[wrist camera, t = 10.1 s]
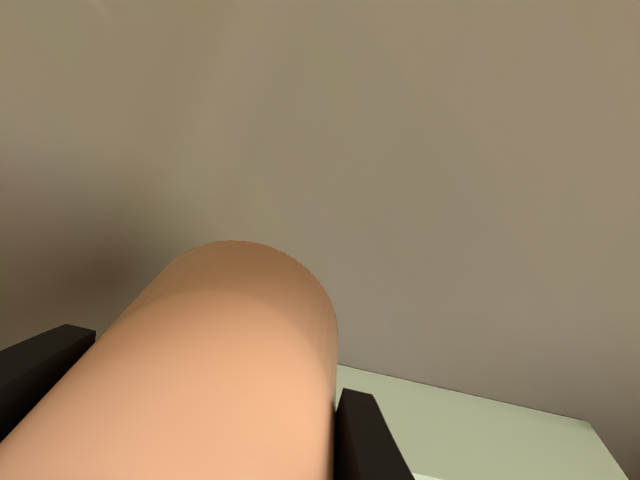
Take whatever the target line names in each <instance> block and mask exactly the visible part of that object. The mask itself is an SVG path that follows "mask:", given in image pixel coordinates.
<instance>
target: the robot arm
mask: <svg viewBox="0 0 640 480" xmlns="http://www.w3.org/2000/svg"><path fill="white" fill-rule="evenodd" d="M95 336H96V331H94V330H90V329H86V328H81V327H77V326H73V325H68V324H65V325H62V326H59V327H56V328H54V329H51V330H49V331H46V332H44V333H41V334H39V335H37V336H34V337H32V338H30V339H27V340H25V341H23V342H20V343H18V344H16V345H13V346H11V347H9V348H6V349H4V350H1V351H0V443H1V442H2V441H3V440H4V439H5V438H6V437H7V436H8V434H9V433H10V432H11V431H12V430H13V429H14V428H15V427H16V426H17V425H18V424H19V423H20V422H21V421H22V420H23V418H24V417H25V416H26V415H27V414H28V413H29V412H30V411H31V410H32V409H33V408H34V407H35V406H36V405H37V404H38V402H39V401H40V400H41V399H42V398H43V397H44V396H45V395H46V394H47V393H48V392H49V391H50V390H51V389H52V388H53V386H54V385H55V384H56V383H57V382H58V381H59V380H60V379H61V378H62V377H63V376H64V375H65V374H66V373H67V372H68V370H69V369H70V368H71V367H72V366H73V365H74V364H75V363H76V362H77V361H78V360H79V359H80V358H81V357H82V356H83V354H84V353H85V352H86V351H87V350H88V349H89V348H90V347H91V346H92V345H93V344H94V343H95ZM334 480H415V478H414V476H413V475H412V473H411V471H410V469H409V467H408V465H407V464H406V462H405V460H404V458H403V456H402V454H401V452H400V450H399V448H398V446H397V444H396V442H395V440H394V438H393V436H392V434H391V432H390V430H389V428H388V425H387V423H386V421H385V419H384V417H383V415H382V412H381V410H380V408H379V406H378V404H377V401H376V400H375V398H374V396H373V395H372V394H369V393H364V392H360V391H356V390H351V389H347V388H343V390H342V393H341V396H340V400H339V403H338V407H337V410H336V416H335V449H334Z"/></svg>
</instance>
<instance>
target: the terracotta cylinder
mask: <svg viewBox="0 0 640 480" xmlns="http://www.w3.org/2000/svg"><path fill="white" fill-rule="evenodd" d="M337 350H338V326H337V319H336V315H335V311H334V308H333V305H332V303H331V300H330V298H329V296H328V295H327V293H326V291H325V289H324V288H323V286H322V285H321V284H320V282H319V281H318V280H317V278H316V277H315V276H314V275H313V274H312V273H311V272H310V271H309V270H308V269H307V268H306V267H304V266H303V265H302V264H301V263H299V262H298V261H297V260H295V259H294V258H292V257H290V256H288V255H287V254H285V253H283V252H281V251H279V250H276V249H274V248H272V247H269V246H265V245H262V244H259V243H253V242H247V241H233V240H230V241H217V242H213V243H208V244H204V245H201V246H198V247H195V248H193V249H191V250H189V251H187V252H185V253H183V254H181V255H180V256H178V257H177V258H176V259H174V260H173V261H171V262H170V263H169V264H168V265H167V266H166V267H165V268H164V269H163V270H162V271H161V272H160V273H159V274H158V276H157V277H156V278H155V279H154V280H153V281H152V282H151V283H150V284H149V285H148V286H147V287H146V288H145V289H144V290H143V292H142V293H141V294H140V295H139V296H138V297H137V298H136V299H135V300H134V301H133V302H132V303H131V304H130V305H129V306H128V308H127V309H126V310H125V311H124V312H123V313H122V314H121V315H120V316H119V317H118V318H117V319H116V320H115V321H114V322H113V324H112V325H111V326H110V327H109V328H108V329H107V330H106V331H105V332H104V333H103V334H102V335H101V336H100V337H99V338H98V340H97V341H96V342H95V343H94V344H93V345H92V346H91V347H90V348H89V349H88V350H87V351H86V352H85V353H84V354H83V356H82V357H81V358H80V359H79V360H78V361H77V362H76V363H75V364H74V365H73V366H72V367H71V368H70V369H69V370H68V372H67V373H66V374H65V375H64V376H63V377H62V378H61V379H60V380H59V381H58V382H57V383H56V384H55V385H54V386H53V388H52V389H51V390H50V391H49V392H48V393H47V394H46V395H45V396H44V397H43V398H42V399H41V400H40V401H39V402H38V404H37V405H36V406H35V407H34V408H33V409H32V410H31V411H30V412H29V413H28V414H27V415H26V416H25V417H24V418H23V420H22V421H21V422H20V423H19V424H18V425H17V426H16V427H15V428H14V429H13V430H12V431H11V432H10V433H9V434H8V436H7V437H6V438H5V439H4V440H3V441H2V442H1V443H0V480H334V449H335V416H336V383H337Z"/></svg>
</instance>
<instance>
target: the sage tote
mask: <svg viewBox="0 0 640 480" xmlns="http://www.w3.org/2000/svg"><path fill="white" fill-rule="evenodd" d="M343 388H347V389H351V390H356V391H360V392H364V393H369V394H372V395H373V396H374V398H375V400H376V401H377V404H378V406H379V408H380V410H381V412H382V415H383V417H384V419H385V421H386V423H387V425H388V428H389V430H390V432H391V434H392V436H393V438H394V440H395V442H396V444H397V446H398V448H399V450H400V452H401V454H402V456H403V458H404V460H405V462H406V464H407V465H408V467H409V469H410V471H411V473H412V475H413V476H414V478H415V480H628V478H627V477H626V475H625V474H624V472H623V471H622V469H621V468H620V467H619V465H618V464H617V462H616V461H615V459H614V458H613V457H612V455H611V454H610V452H609V451H608V449H607V448H606V447H605V445H604V444H603V442H602V441H601V439H600V438H599V436H598V435H597V434H596V432H595V431H594V429H593V428H592V426H591V425H590V424H589V422H587V421H582V420H578V419H574V418H569V417H565V416H560V415H556V414H552V413H547V412H543V411H539V410H534V409H530V408H526V407H521V406H517V405H512V404H508V403H504V402H499V401H495V400H491V399H486V398H482V397H477V396H473V395H469V394H464V393H460V392H456V391H451V390H447V389H443V388H438V387H434V386H429V385H425V384H421V383H416V382H412V381H408V380H403V379H399V378H395V377H390V376H386V375H381V374H377V373H373V372H368V371H364V370H360V369H355V368H351V367H346V366H342V365H338V364H337V383H336V410H337V407H338V403H339V400H340V396H341V393H342V390H343Z"/></svg>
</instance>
